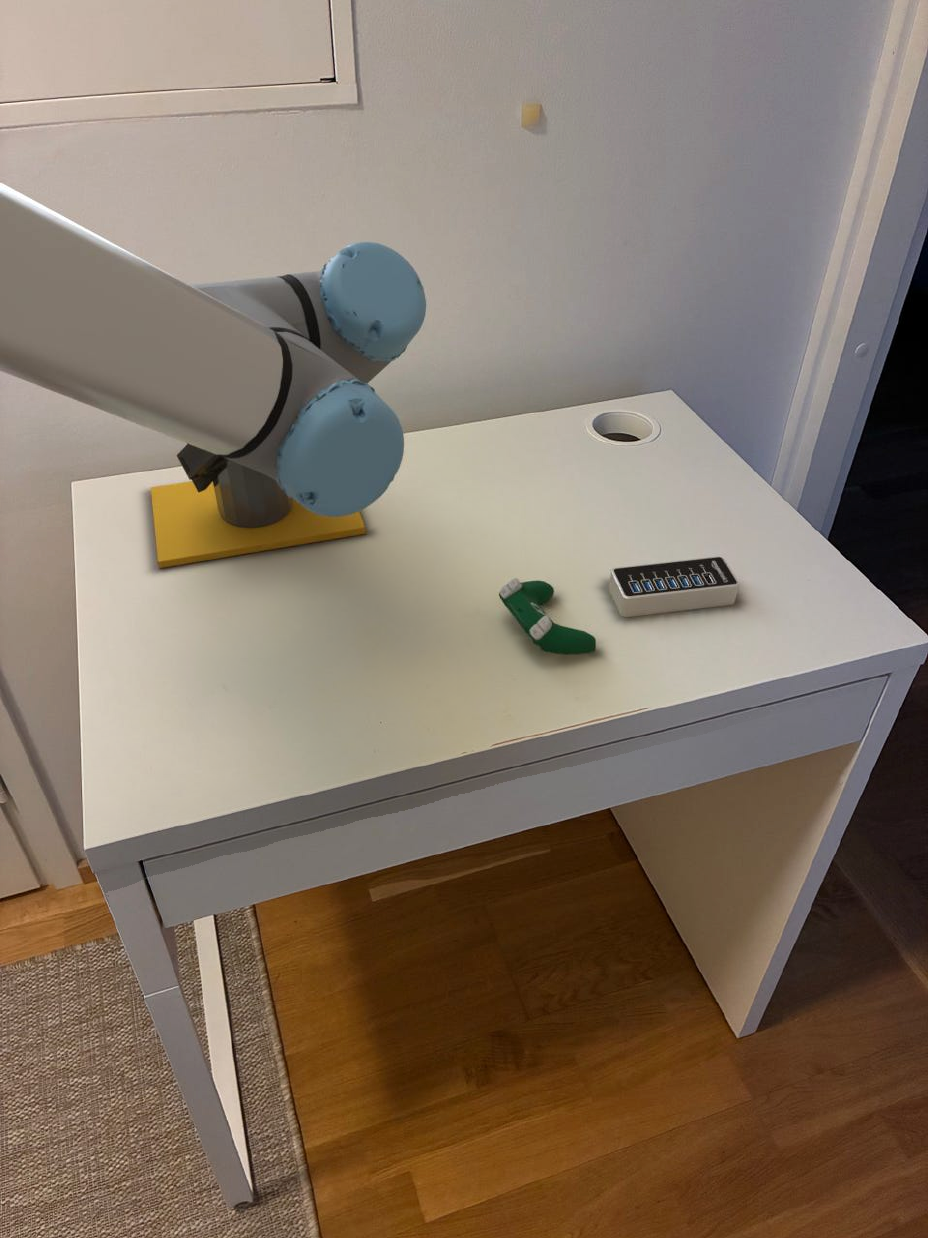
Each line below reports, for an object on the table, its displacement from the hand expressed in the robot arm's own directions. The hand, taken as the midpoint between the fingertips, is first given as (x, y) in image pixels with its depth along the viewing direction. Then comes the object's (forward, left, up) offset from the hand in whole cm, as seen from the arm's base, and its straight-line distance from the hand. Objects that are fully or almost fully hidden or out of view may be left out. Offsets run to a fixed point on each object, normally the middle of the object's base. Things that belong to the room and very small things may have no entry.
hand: (232, 463), depth 97 cm
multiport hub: (+37, -27, -5) cm, 45 cm away
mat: (+1, -3, -4) cm, 5 cm away
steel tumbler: (+1, -3, -4) cm, 5 cm away
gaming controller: (+23, -28, -5) cm, 37 cm away
